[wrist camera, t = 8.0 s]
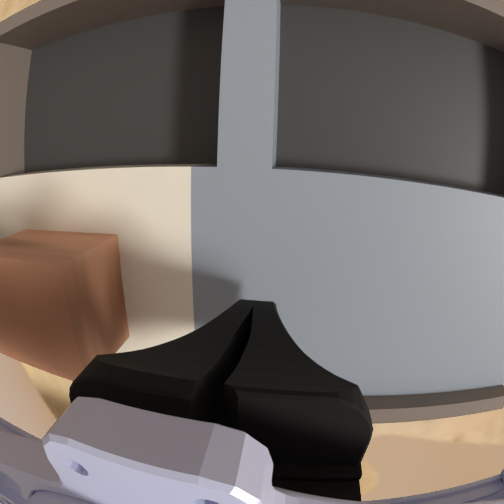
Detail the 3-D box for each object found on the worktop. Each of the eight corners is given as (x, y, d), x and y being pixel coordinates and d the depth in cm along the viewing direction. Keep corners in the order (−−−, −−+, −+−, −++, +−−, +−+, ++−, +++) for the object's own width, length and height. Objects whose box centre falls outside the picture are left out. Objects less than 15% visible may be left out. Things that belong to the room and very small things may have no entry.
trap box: (477, 369, 16) (505, 413, 12) (41, 328, 19) (4, 359, 15) (522, 49, 10) (568, 33, 6) (27, 41, 13) (-21, 30, 9)
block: (129, 336, 14) (88, 385, 11) (41, 316, 15) (-4, 351, 11) (117, 234, 13) (60, 265, 9) (25, 229, 14) (-30, 252, 10)
